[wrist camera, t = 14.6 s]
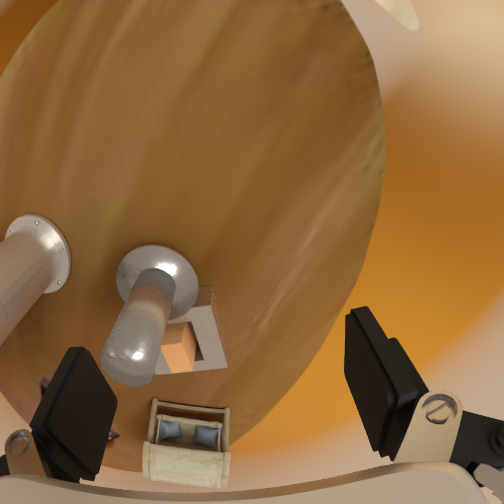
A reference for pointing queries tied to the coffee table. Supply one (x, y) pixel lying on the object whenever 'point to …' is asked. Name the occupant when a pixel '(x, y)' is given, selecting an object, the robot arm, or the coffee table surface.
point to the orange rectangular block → (179, 346)
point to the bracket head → (160, 316)
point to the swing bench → (187, 460)
